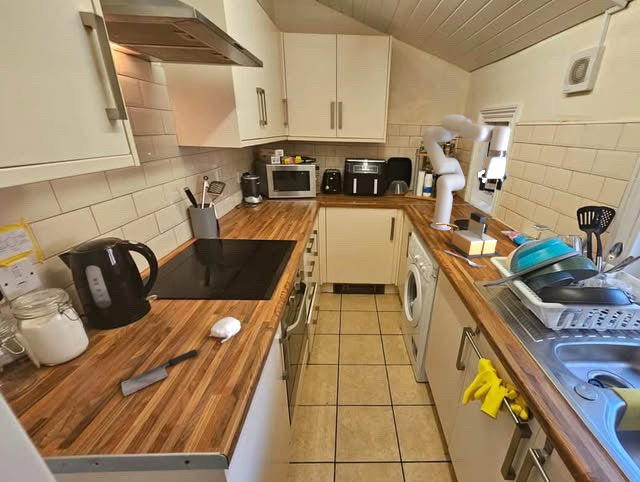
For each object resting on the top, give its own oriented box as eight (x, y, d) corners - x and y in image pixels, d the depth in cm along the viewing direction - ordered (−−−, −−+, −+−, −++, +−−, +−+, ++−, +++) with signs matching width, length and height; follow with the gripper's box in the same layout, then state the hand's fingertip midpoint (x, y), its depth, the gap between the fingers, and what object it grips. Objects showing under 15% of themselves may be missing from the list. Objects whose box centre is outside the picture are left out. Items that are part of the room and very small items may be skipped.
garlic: (221, 344, 82) (219, 333, 80) (205, 336, 85) (203, 325, 83) (245, 329, 88) (243, 318, 87) (229, 321, 91) (227, 311, 90)
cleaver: (122, 395, 65) (119, 381, 68) (124, 398, 65) (121, 385, 69) (201, 358, 75) (195, 347, 78) (202, 361, 75) (195, 351, 79)
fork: (446, 249, 150) (446, 246, 149) (486, 269, 131) (487, 265, 130) (441, 251, 149) (442, 247, 148) (481, 270, 129) (482, 266, 129)
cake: (446, 243, 159) (448, 229, 156) (475, 241, 163) (478, 228, 160) (467, 258, 141) (469, 243, 138) (500, 255, 145) (503, 241, 142)
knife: (465, 230, 154) (468, 211, 150) (470, 230, 155) (473, 211, 151) (479, 238, 143) (483, 218, 139) (484, 238, 144) (488, 218, 140)
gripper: (507, 153, 148) (499, 188, 155) (476, 153, 144) (470, 189, 151) (517, 155, 141) (509, 191, 148) (486, 154, 137) (479, 192, 144)
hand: (489, 190), depth 149 cm, fingers open, 9 cm apart
